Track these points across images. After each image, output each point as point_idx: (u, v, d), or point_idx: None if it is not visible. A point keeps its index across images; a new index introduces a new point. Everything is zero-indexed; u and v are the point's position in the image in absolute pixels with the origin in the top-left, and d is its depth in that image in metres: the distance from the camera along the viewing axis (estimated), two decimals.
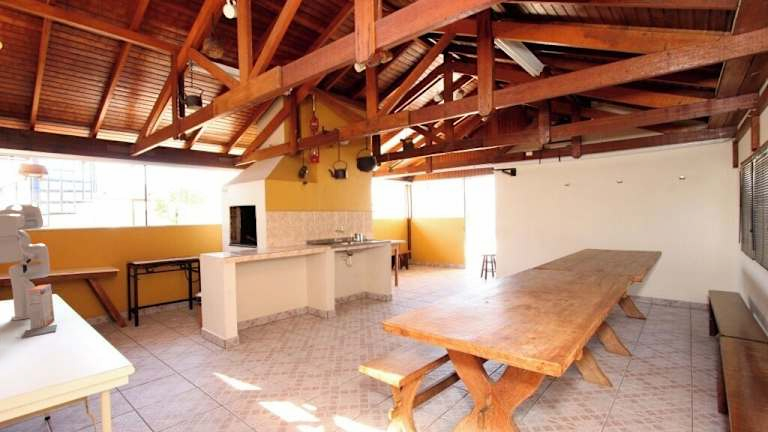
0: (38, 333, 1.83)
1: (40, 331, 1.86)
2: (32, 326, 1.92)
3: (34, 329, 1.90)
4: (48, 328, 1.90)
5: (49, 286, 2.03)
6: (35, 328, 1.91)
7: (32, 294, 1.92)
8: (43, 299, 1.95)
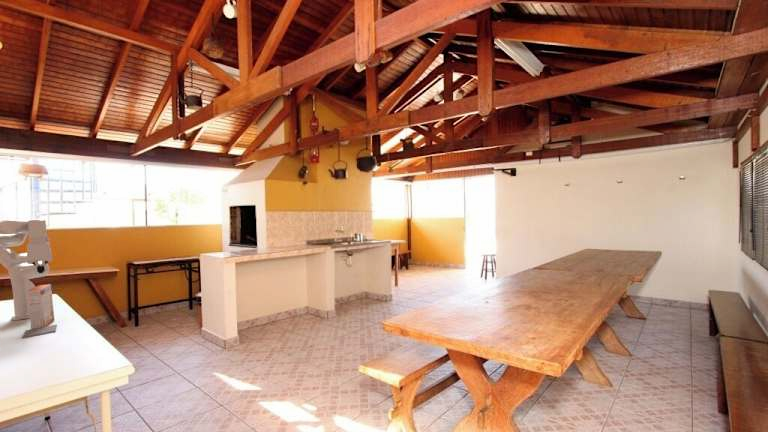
0: (38, 333, 1.83)
1: (40, 331, 1.86)
2: (32, 326, 1.92)
3: (34, 329, 1.90)
4: (48, 328, 1.90)
5: (49, 286, 2.03)
6: (35, 328, 1.91)
7: (32, 294, 1.92)
8: (43, 299, 1.95)
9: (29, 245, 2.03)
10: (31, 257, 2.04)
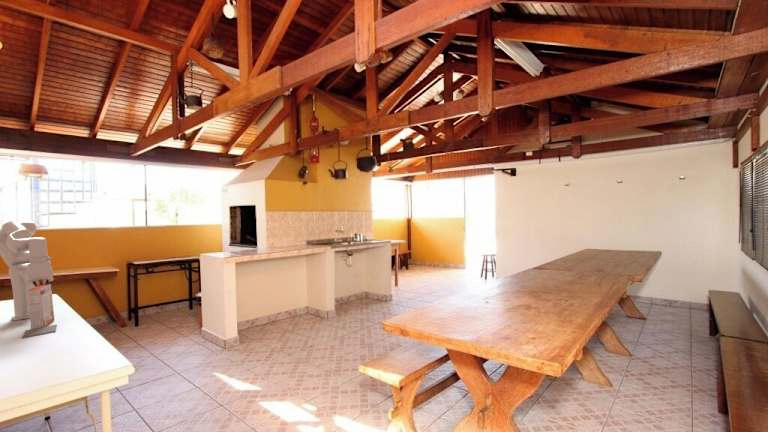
0: (38, 333, 1.83)
1: (40, 331, 1.86)
2: (32, 326, 1.92)
3: (34, 329, 1.90)
4: (48, 328, 1.90)
5: (49, 286, 2.03)
6: (35, 328, 1.91)
7: (32, 294, 1.92)
8: (43, 299, 1.95)
9: (30, 265, 2.01)
10: (32, 277, 2.01)
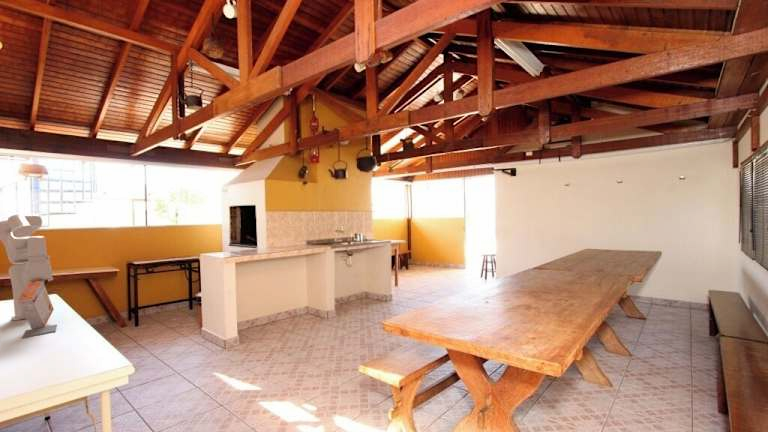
0: (38, 333, 1.83)
1: (40, 331, 1.86)
2: (32, 327, 1.91)
3: (34, 329, 1.90)
4: (48, 328, 1.90)
5: (41, 285, 1.93)
6: (35, 328, 1.91)
7: (24, 302, 1.84)
8: (37, 303, 1.89)
9: (28, 264, 1.95)
10: (30, 276, 1.95)
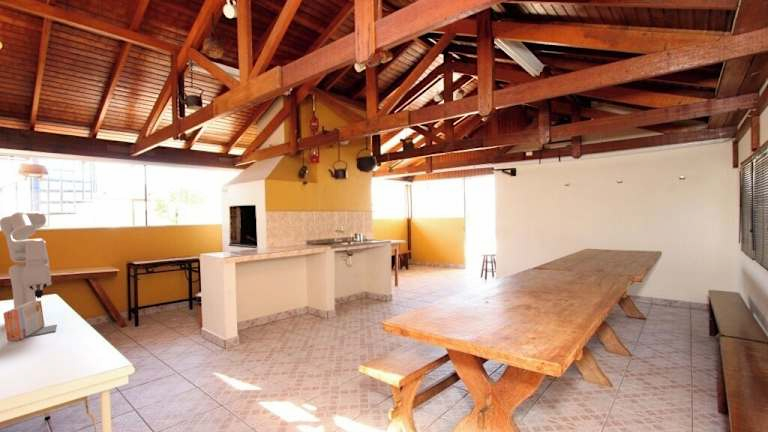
0: (38, 333, 1.83)
1: (40, 331, 1.86)
2: None
3: None
4: (48, 328, 1.90)
5: (19, 315, 1.75)
6: None
7: None
8: (28, 330, 1.80)
9: (26, 268, 1.89)
10: (28, 281, 1.89)
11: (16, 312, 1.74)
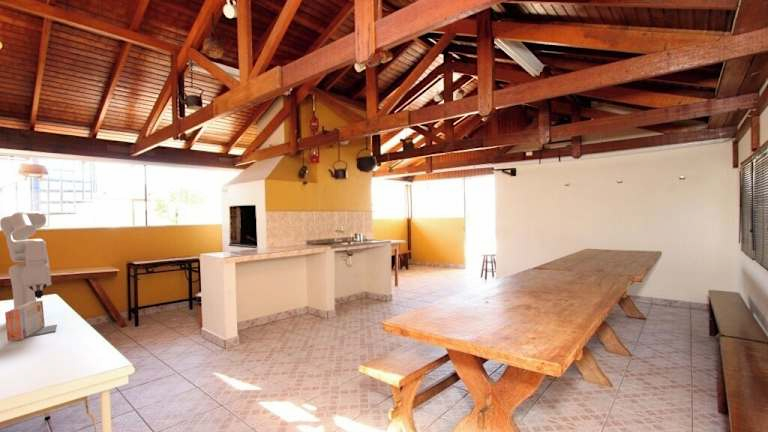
0: (38, 333, 1.83)
1: (40, 331, 1.86)
2: None
3: None
4: (48, 328, 1.90)
5: (21, 315, 1.75)
6: None
7: None
8: (28, 330, 1.80)
9: (26, 268, 1.88)
10: (28, 281, 1.89)
11: (18, 312, 1.74)
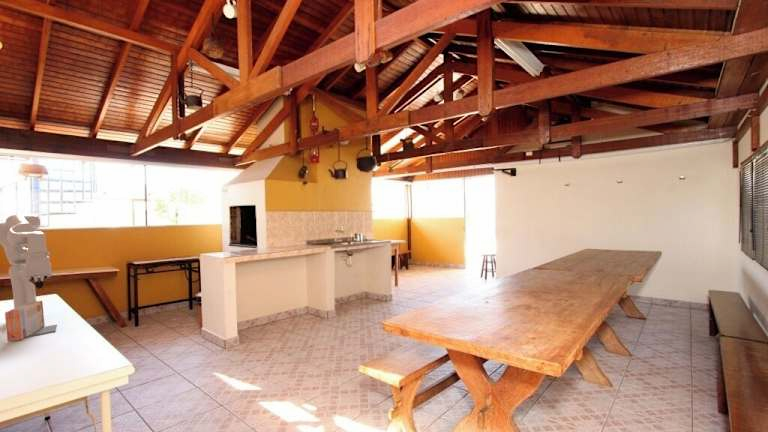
0: (38, 333, 1.83)
1: (40, 331, 1.86)
2: None
3: None
4: (48, 328, 1.90)
5: (21, 315, 1.75)
6: None
7: None
8: (28, 330, 1.80)
9: (28, 260, 1.97)
10: (30, 272, 1.97)
11: (18, 312, 1.74)
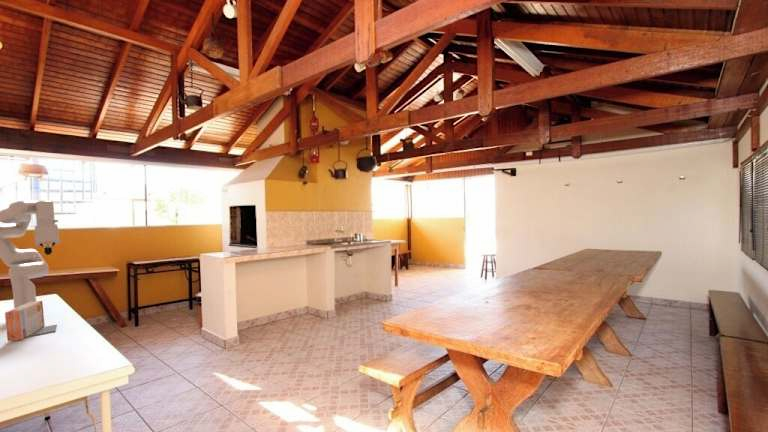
0: (38, 333, 1.83)
1: (40, 331, 1.86)
2: None
3: None
4: (48, 328, 1.90)
5: (21, 315, 1.75)
6: None
7: None
8: (28, 330, 1.80)
9: (37, 226, 2.03)
10: (39, 238, 2.04)
11: (18, 312, 1.74)
